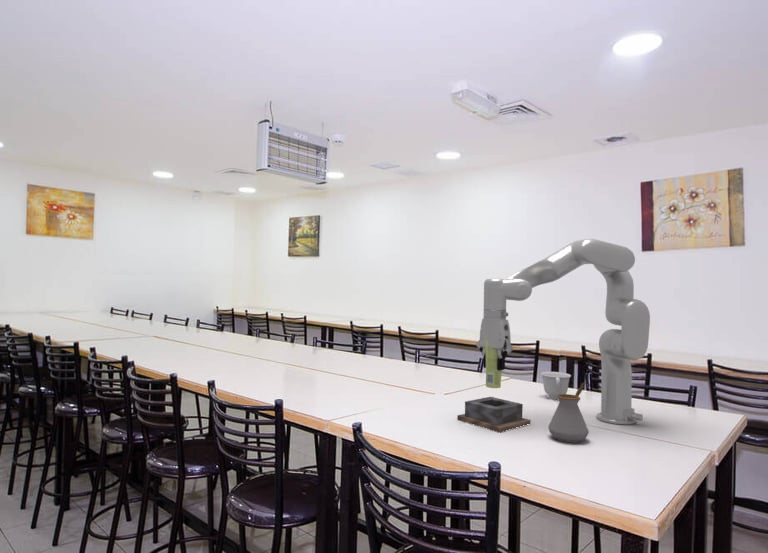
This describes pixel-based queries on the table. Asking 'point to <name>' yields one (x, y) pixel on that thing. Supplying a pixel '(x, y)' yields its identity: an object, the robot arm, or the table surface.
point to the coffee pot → (569, 419)
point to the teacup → (555, 383)
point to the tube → (492, 367)
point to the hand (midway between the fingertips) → (493, 368)
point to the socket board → (494, 414)
